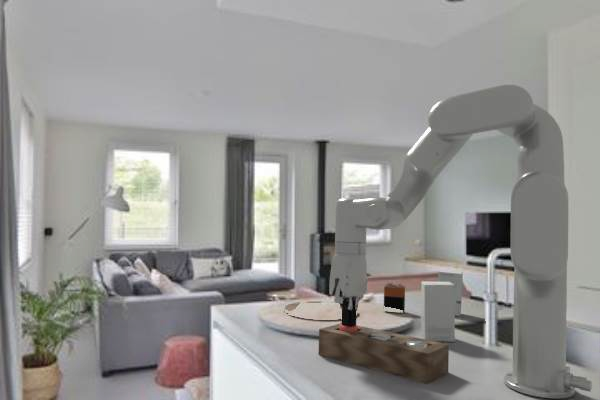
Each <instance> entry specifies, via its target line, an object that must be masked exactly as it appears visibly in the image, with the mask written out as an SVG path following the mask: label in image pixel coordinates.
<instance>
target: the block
mask: <svg viewBox="0 0 600 400" xmlns="http://www.w3.org/2000/svg"><path fill="white" fill-rule="evenodd" d="M340 324H342V322H341V323H337V324H334V325H329V326H326V327H321V328H319V329H318V355H320V356H324V357H327V358H330V359H334V360H336V361H337V360H339V361H342V362H345V363H348V364H353V365H357V366H360V367H364V368H367V369H371V370H375V371H379V372H382V373H386V374H389V375H393V376H398V377H401V378H405V379H409V380H410V381H411V380H412V381H414V382H415V381H416V382H420V383H424V384H427V385H428V384H431V383H432V382H434V381H436V380H438V379H439V378H441V377H442V376H445V375H446V374H448V373H449V357H450V355H449V354H450V353H449V349H450V344H449V343H445V342H441V341H430V340H425V339H424V338H420V337H415V336H410V335H407V334H399V333H395V332H390V331H386V330H381V329H377V328H373V327H372V328H370V327H366V326H361V325H357V326H358V331H356V332H353V333H349V332H344V331H339V325H340ZM373 333H384V334H388V335H390V336H391V338H390V339H387V340H380V339H376V338H371V334H373ZM407 341H422V342H425V343H427V347H425V348H423V349H421V348H417V347H412V346H407V345H406V344H407Z"/></svg>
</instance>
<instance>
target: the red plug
mask: <svg viewBox="0 0 600 400" xmlns="http://www.w3.org/2000/svg"><path fill="white" fill-rule="evenodd" d="M339 324H340V323H339ZM358 326H359V325H357V324H356V326H353V327H349V326H344V325H342V324H340V325H339V331H344V332H349V333H353V332H356V331H358Z"/></svg>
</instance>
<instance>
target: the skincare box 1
mask: <svg viewBox="0 0 600 400" xmlns="http://www.w3.org/2000/svg"><path fill="white" fill-rule="evenodd" d="M420 282H421V286H420V288H421V310H420V311H421V314H420V315H421V321H420V323H421V337H422V339H425V340H430V341H435V342H442V341H443V342H442V343H445V342H446V343H447V342H448V343H449V342H450V343H452V342H453V343H454V342H456V339H455V338H456V335H455V331H456V330H455V329H456V327H455V325H456V323H455V322H456V319H455V318H456V317H455V285H454V284H452V283H451V282H438V281H427V280H425V281H422V280H421V281H420Z"/></svg>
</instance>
